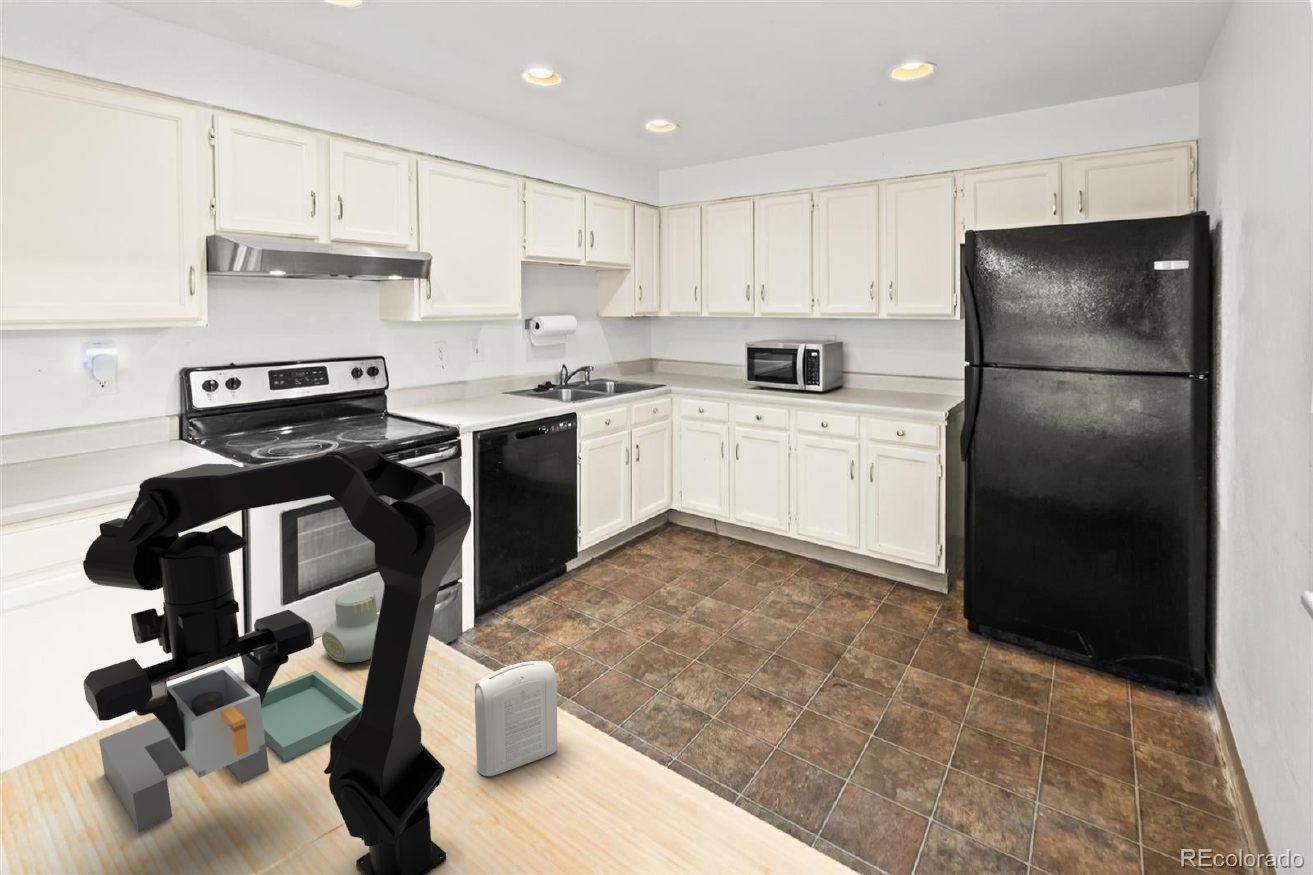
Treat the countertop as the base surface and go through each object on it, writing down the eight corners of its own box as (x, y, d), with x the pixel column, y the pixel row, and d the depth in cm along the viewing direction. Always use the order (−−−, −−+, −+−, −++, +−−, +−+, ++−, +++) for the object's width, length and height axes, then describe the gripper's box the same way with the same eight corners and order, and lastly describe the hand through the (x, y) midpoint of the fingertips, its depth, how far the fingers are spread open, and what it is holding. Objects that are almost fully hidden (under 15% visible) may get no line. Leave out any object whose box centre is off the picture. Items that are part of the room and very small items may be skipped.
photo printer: (548, 735, 89) (546, 648, 86) (563, 752, 85) (561, 662, 83) (472, 763, 83) (467, 671, 81) (484, 783, 80) (479, 687, 77)
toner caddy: (278, 761, 68) (272, 706, 67) (210, 793, 63) (202, 735, 62) (233, 714, 76) (227, 665, 75) (169, 740, 71) (162, 688, 70)
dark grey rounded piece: (231, 732, 72) (227, 697, 71) (201, 745, 69) (196, 709, 69) (221, 722, 73) (217, 688, 73) (191, 734, 71) (186, 700, 70)
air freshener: (317, 653, 109) (312, 595, 107) (366, 634, 116) (361, 579, 114) (353, 676, 103) (347, 614, 101) (402, 654, 109) (398, 596, 107)
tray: (368, 725, 90) (367, 708, 90) (285, 766, 82) (283, 747, 82) (317, 685, 100) (316, 670, 99) (238, 718, 92) (236, 701, 91)
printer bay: (269, 773, 81) (265, 735, 80) (139, 835, 71) (132, 793, 70) (226, 727, 90) (221, 693, 89) (105, 777, 80) (98, 739, 79)
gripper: (267, 549, 79) (280, 671, 82) (59, 600, 65) (83, 746, 68) (309, 573, 72) (322, 706, 75) (86, 636, 58) (113, 796, 61)
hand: (217, 734), depth 70 cm, fingers closed on toner caddy, 6 cm apart
